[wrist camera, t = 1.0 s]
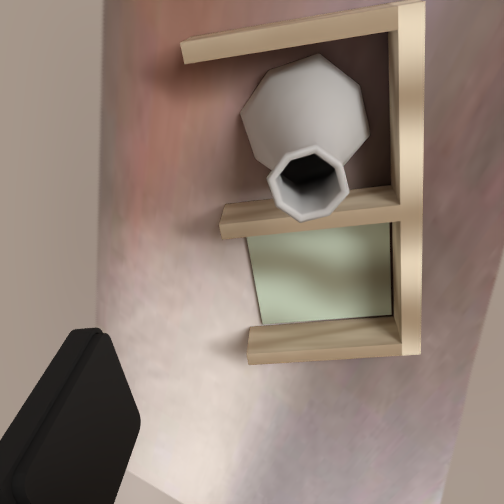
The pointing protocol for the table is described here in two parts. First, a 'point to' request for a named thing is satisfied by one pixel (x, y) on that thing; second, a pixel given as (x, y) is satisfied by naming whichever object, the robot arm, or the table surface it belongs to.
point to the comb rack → (339, 212)
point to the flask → (306, 134)
